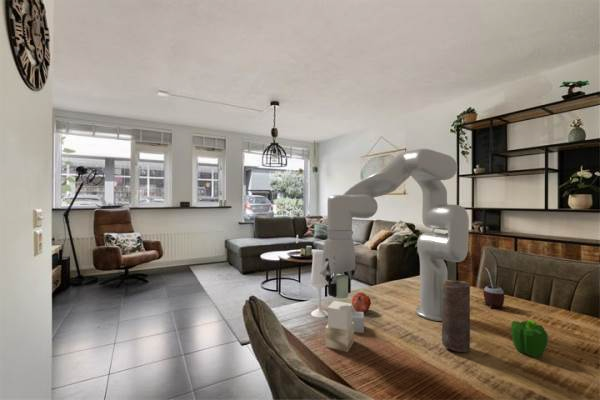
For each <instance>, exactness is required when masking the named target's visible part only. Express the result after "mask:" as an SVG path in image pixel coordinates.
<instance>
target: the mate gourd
mask: <svg viewBox="0 0 600 400" xmlns="http://www.w3.org/2000/svg"><path fill="white" fill-rule="evenodd" d="M484 268H485V270H486V271H487V272H486V273H488V277H489V280H490V285H487V286H485V287H484V289H483V298H484V306H487V307H489V309H490V310H493V309H495V308H496V309H499V310H504V308H503V307H504V303H505V298H506V297H505V292H504V290H503V289H502V288H501V287H500V286H496V285H494V284H493V283H494V282H493V281H492V274H491V273H490V271H489V269H488V268H487V267H484Z"/></svg>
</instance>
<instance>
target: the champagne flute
mask: <svg viewBox="0 0 600 400" xmlns="http://www.w3.org/2000/svg"><path fill="white" fill-rule="evenodd" d="M322 260H323V251H322V250H317V251H316V250H315V251H313V252H312V264H311V276H310V282H311V285H312V286H314V287H315V289H317V308H316V309H315V310H313V311H312V312H311V313H310V315H311V316H312V317H315V318H326V317H328V311H326V310H323V309H322V289H324V288H325V287H326V286H327V285H328V282H327V281H326V280H325V278H324V277H323V276H321V275H320V271H321V269H322Z"/></svg>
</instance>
